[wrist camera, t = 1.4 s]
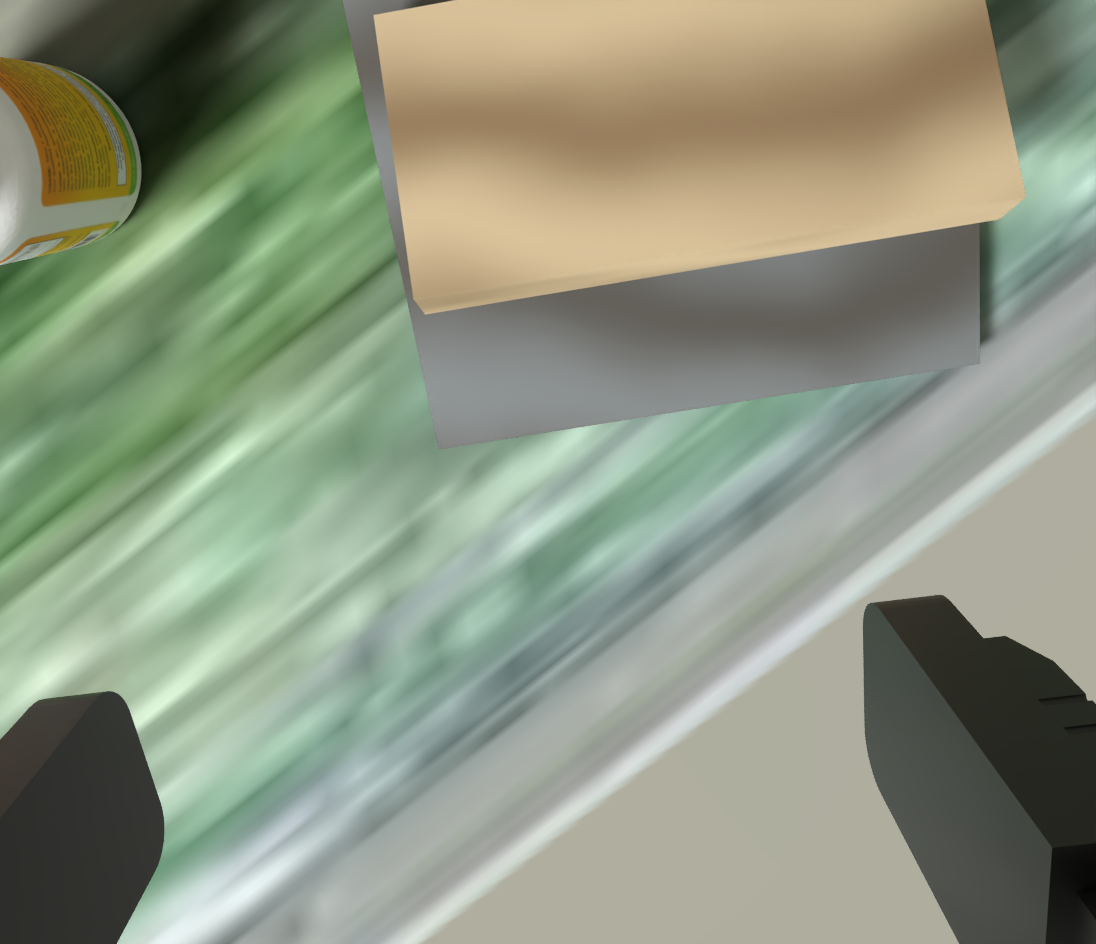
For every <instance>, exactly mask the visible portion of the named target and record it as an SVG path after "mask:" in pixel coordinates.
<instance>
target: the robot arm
mask: <svg viewBox="0 0 1096 944" xmlns="http://www.w3.org/2000/svg"><path fill="white" fill-rule="evenodd" d="M863 650H864V651H863V652H864V653H863V654H864V713H865V715H864V716H865V737H866V745H867V751H868V756H869V760H870V764H871V768H872V771H873V775H874V778H875V781H876V783H877V786H878V788H879V790H880V792H881V794H882V796H883V798H884V800H885V802H886V804H887V806H888V808H889V809H890V811H891V814H892V815H893V817H894V819H895V821H896V823H897V825H898V827H899V829H900V831H901V833H902V835H903V836H904V839H905V840H906V842H907V844H908V846H909V848H910V850H911V852H912V854H913V856H914V858H915V860H916V861H917V864H918V865H919V867H920V869H921V871H922V873H923V875H924V877H925V879H926V881H927V883H928V885H929V886H930V888H931V890H932V892H933V894H934V896H935V898H936V900H937V902H938V904H939V906H940V908H941V909H942V911H943V913H944V915H945V917H946V919H947V921H948V923H949V925H950V927H951V929H952V930H953V932H954V934H955V936H956V938H957V940H958V942H959V944H1096V704H1095V703H1094V702H1093V701H1087V699H1086V694H1085V693H1084V692H1083V691H1082V690H1081V689H1080V687H1079V686H1078V685H1076V684H1075V683H1074V682H1073V680H1072V679H1071V678H1070V677H1069V676H1068V675H1067V674H1066V673H1065V672H1064V671H1063V670H1062V669H1061V668H1060V667H1059V666H1058V665H1057V664H1056V663H1055V662H1054V661H1052V660H1050V659H1048V658H1046V657H1044V656H1043V655H1041V654H1039V653H1037V652H1035V651H1033V650H1031V649H1029V648H1027V647H1026V646H1024V645H1022V644H1020V643H1018V642H1016V641H1014V640H1012V639H1010V638H1008V637H1006V636H1001V637H993V638H983V637H982V636H981V635H980V634H979V633H978V632H977V631H976V629H975V628H974V627H973V626H972V625H971V624H970V623H969V622H968V621H967V620H966V618H965V617H964V616H963V615H962V614H961V613H960V612H959V611H958V609H957V608H956V607H955V606H954V605H953V604H952V603H951V601H949V599H947V598H946V597H945V596H943V595H934V596H926V597H918V598H909V599H902V600H892V601H885V602H876V603H870V604H868V605H867V606H866V609H865V612H864V619H863ZM163 842H164V817H163V811H162V807H161V803H160V800H159V797H158V794H157V791H156V788H155V785H154V782H153V779H152V776H151V773H150V770H149V767H148V764H147V761H146V758H145V755H144V752H143V749H142V746H141V743H140V740H139V737H138V734H137V731H136V728H135V725H134V722H133V719H132V716H131V713H130V711H129V708H128V706H127V704H126V702H125V701H124V700H123V698H122V697H121V696H120V695H118V694H117V693H115V692H110V691H107V692H99V693H91V694H82V695H74V696H65V697H57V698H48V699H42V700H39V701H37V702H36V703H34V704H33V705H32V706H31V707H30V708H29V709H28V710H27V711H26V712H25V713H24V714H23V715H22V717H21V718H20V719H19V720H18V721H17V722H16V723H15V724H14V725H13V726H12V728H11V729H10V730H9V731H8V732H7V733H6V734H5V735H4V736H3V737H2V739H1V740H0V944H117V942H118V940H119V938H120V936H121V934H122V933H123V931H124V929H125V927H126V925H127V923H128V921H129V919H130V918H131V916H132V914H133V912H134V910H135V908H136V906H137V904H138V902H139V901H140V899H141V897H142V895H143V893H144V891H145V889H146V887H147V885H148V884H149V882H150V880H151V878H152V876H153V874H154V872H155V870H156V868H157V866H158V863H159V860H160V857H161V853H162V848H163Z"/></svg>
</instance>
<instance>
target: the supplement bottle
mask: <svg viewBox="0 0 1096 944" xmlns="http://www.w3.org/2000/svg"><path fill="white" fill-rule="evenodd" d="M140 184H141V160H140V153H139V148H138V144H137V141H136V138H135V135H134V133H133V130H132V128H131V126H130V124H129V122H128V120H127V119H126V117H125V116H124V114H123V113H122V111H121V110H120V108H119V107H118V106H117V105H116V104H115V102H114V101H113V100H112V99H111V98H110V97H109V96H108V95H107V94H106V93H105V92H104V91H103V90H101V89H100V88H99V87H98V86H96V85H95V84H94V83H92V82H91V81H89V80H88V79H86V78H85V77H83V76H81V75H79V74H77V73H75V72H72V71H70V70H67V69H64V68H61V67H57V66H54V65H49V64H44V63H38V62H31V61H24V60H17V59H10V58H2V57H0V265H3V264H7V263H12V262H16V261H21V260H26V259H30V258H33V257H38V256H42V255H46V254H50V253H55V252H59V251H64V250H68V249H73V248H77V247H81V246H84V245H87V244H91V243H93V242H96V241H98V240H101V239H103V238H104V237H106V236H108V235H109V234H111V233H112V232H114V231H115V230H116V229H117V228H118V227H120V226H121V224H122V223H123V222H124V221H125V220H126V219H127V217H128V216H129V214H130V213H131V211H132V209H133V207H134V205H135V203H136V200H137V197H138V194H139V189H140Z"/></svg>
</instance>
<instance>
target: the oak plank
mask: <svg viewBox="0 0 1096 944" xmlns="http://www.w3.org/2000/svg"><path fill="white" fill-rule="evenodd" d="M374 22H375V30H376V37H377V44H378V51H379V58H380V65H381V72H382V79H383V86H384V94H385V101H386V108H387V115H388V122H389V129H390V136H391V143H392V151H393V158H394V165H395V172H396V179H397V186H398V193H399V200H400V207H401V215H402V222H403V229H404V236H405V243H406V250H407V257H408V264H409V271H410V279H411V286H412V293H413V299H414V301H415V302H416V303H417V304H418V306H419V307H420V308H421V310H422V311H423V312H424V314H425V315H426V314H432V313H438V312H444V311H450V310H456V309H462V308H468V307H474V306H480V305H486V304H492V303H498V302H504V301H510V300H516V299H522V298H528V297H534V296H540V295H546V294H552V293H558V292H564V291H570V290H576V289H582V288H588V287H594V286H600V285H606V284H613V283H619V282H625V281H631V280H637V279H643V278H649V277H655V276H661V275H667V274H673V273H679V272H685V271H691V270H697V269H703V268H709V267H715V266H721V265H727V264H733V263H739V262H745V261H751V260H757V259H763V258H769V257H775V256H781V255H787V254H793V253H800V252H806V251H812V250H818V249H824V248H830V247H836V246H842V245H848V244H854V243H860V242H866V241H872V240H878V239H884V238H890V237H896V236H902V235H908V234H914V233H920V232H926V231H932V230H938V229H944V228H950V227H956V226H962V225H968V224H974V223H980V222H986V221H993V220H999V219H1000V218H1002V217H1003V216H1004V215H1005V214H1006V213H1007V212H1009V211H1010V210H1011V209H1012V208H1013V207H1015V206H1016V205H1017V204H1018V203H1019V202H1021V201H1022V200H1023V199H1024V198H1025V197H1026V194H1025V189H1024V185H1023V180H1022V175H1021V170H1020V165H1019V160H1018V156H1017V151H1016V146H1015V141H1014V136H1013V131H1012V127H1011V122H1010V117H1009V112H1008V107H1007V102H1006V98H1005V93H1004V88H1003V83H1002V78H1001V73H1000V69H999V64H998V59H997V54H996V49H995V44H994V40H993V35H992V30H991V25H990V20H989V15H988V11H987V6H986V1H985V0H453V1H448V2H442V3H437V4H431V5H426V6H420V7H415V8H409V9H404V10H398V11H393V12H387V13H382V14H376V15H374Z"/></svg>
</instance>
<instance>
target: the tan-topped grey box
mask: <svg viewBox="0 0 1096 944" xmlns="http://www.w3.org/2000/svg"><path fill="white" fill-rule="evenodd" d="M448 1H453V0H343V5H344V10H345V14H346V19H347V23H348V28H349V33H350V37H351V42H352V47H353V51H354V56H355V61H356V65H357V70H358V75H359V79H360V84H361V89H362V93H363V98H364V103H365V107H366V112H367V116H368V121H369V126H370V130H371V135H372V140H373V144H374V149H375V154H376V158H377V163H378V168H379V172H380V177H381V182H382V186H383V191H384V196H385V200H386V205H387V209H388V214H389V219H390V223H391V228H392V233H393V237H394V242H395V247H396V251H397V256H398V261H399V265H400V270H401V275H402V279H403V284H404V289H405V293H406V298H407V302H408V307H409V312H410V316H411V321H412V326H413V330H414V335H415V340H416V344H417V349H418V354H419V358H420V363H421V368H422V372H423V377H424V381H425V386H426V391H427V395H428V400H429V405H430V409H431V414H432V419H433V423H434V428H435V433H436V437H437V442H438V447H439V449H445V448H451V447H458V446H464V445H470V444H476V443H483V442H489V441H495V440H502V439H508V438H514V437H521V436H527V435H533V434H540V433H546V432H552V431H558V430H565V429H571V428H577V427H584V426H590V425H596V424H603V423H609V422H615V421H622V420H628V419H634V418H640V417H647V416H653V415H659V414H666V413H672V412H678V411H685V410H691V409H697V408H704V407H710V406H716V405H722V404H729V403H735V402H741V401H748V400H754V399H760V398H767V397H773V396H779V395H786V394H792V393H798V392H804V391H811V390H817V389H823V388H830V387H836V386H842V385H849V384H855V383H861V382H868V381H874V380H880V379H886V378H893V377H899V376H905V375H912V374H918V373H924V372H931V371H937V370H943V369H950V368H956V367H962V366H969V365H975V364H980V223H974V224H968V225H962V226H956V227H950V228H944V229H938V230H932V231H926V232H920V233H914V234H908V235H902V236H896V237H890V238H884V239H878V240H872V241H866V242H860V243H854V244H848V245H842V246H836V247H830V248H824V249H818V250H812V251H806V252H800V253H793V254H787V255H781V256H775V257H769V258H763V259H757V260H751V261H745V262H739V263H733V264H727V265H721V266H715V267H709V268H703V269H697V270H691V271H685V272H679V273H673V274H667V275H661V276H655V277H649V278H643V279H637V280H631V281H625V282H619V283H613V284H606V285H600V286H594V287H588V288H582V289H576V290H570V291H564V292H558V293H552V294H546V295H540V296H534V297H528V298H522V299H516V300H510V301H504V302H498V303H492V304H486V305H480V306H474V307H468V308H462V309H456V310H450V311H444V312H438V313H432V314H426V315H425V314H424V312H423V311H422V310H421V308H420V307H419V306H418V304H417V303H416V302H415V301H414V299H413V293H412V286H411V279H410V271H409V264H408V257H407V250H406V243H405V236H404V229H403V222H402V215H401V207H400V200H399V193H398V186H397V179H396V172H395V165H394V158H393V151H392V143H391V136H390V129H389V122H388V115H387V108H386V101H385V94H384V86H383V79H382V72H381V65H380V58H379V51H378V44H377V37H376V30H375V22H374V15H376V14H382V13H387V12H393V11H398V10H404V9H409V8H415V7H420V6H426V5H431V4H437V3H442V2H448Z"/></svg>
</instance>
